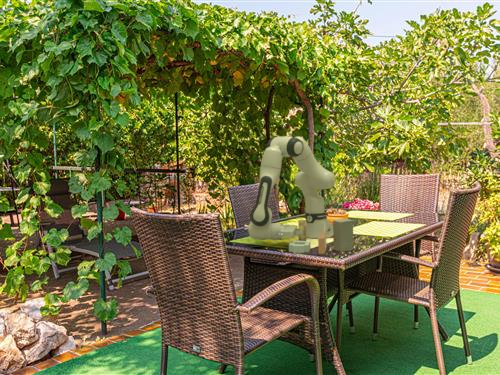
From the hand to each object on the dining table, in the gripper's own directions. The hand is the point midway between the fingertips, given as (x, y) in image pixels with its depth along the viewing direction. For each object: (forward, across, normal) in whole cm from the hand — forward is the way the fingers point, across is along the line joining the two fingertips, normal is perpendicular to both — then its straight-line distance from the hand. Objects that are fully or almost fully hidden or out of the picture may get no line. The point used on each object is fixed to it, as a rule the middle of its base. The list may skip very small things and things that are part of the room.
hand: (304, 231), depth 270 cm
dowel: (-1, 0, +8) cm, 8 cm away
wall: (+10, -11, +8) cm, 17 cm away
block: (-1, -11, +8) cm, 13 cm away
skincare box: (+20, -9, +8) cm, 24 cm away
